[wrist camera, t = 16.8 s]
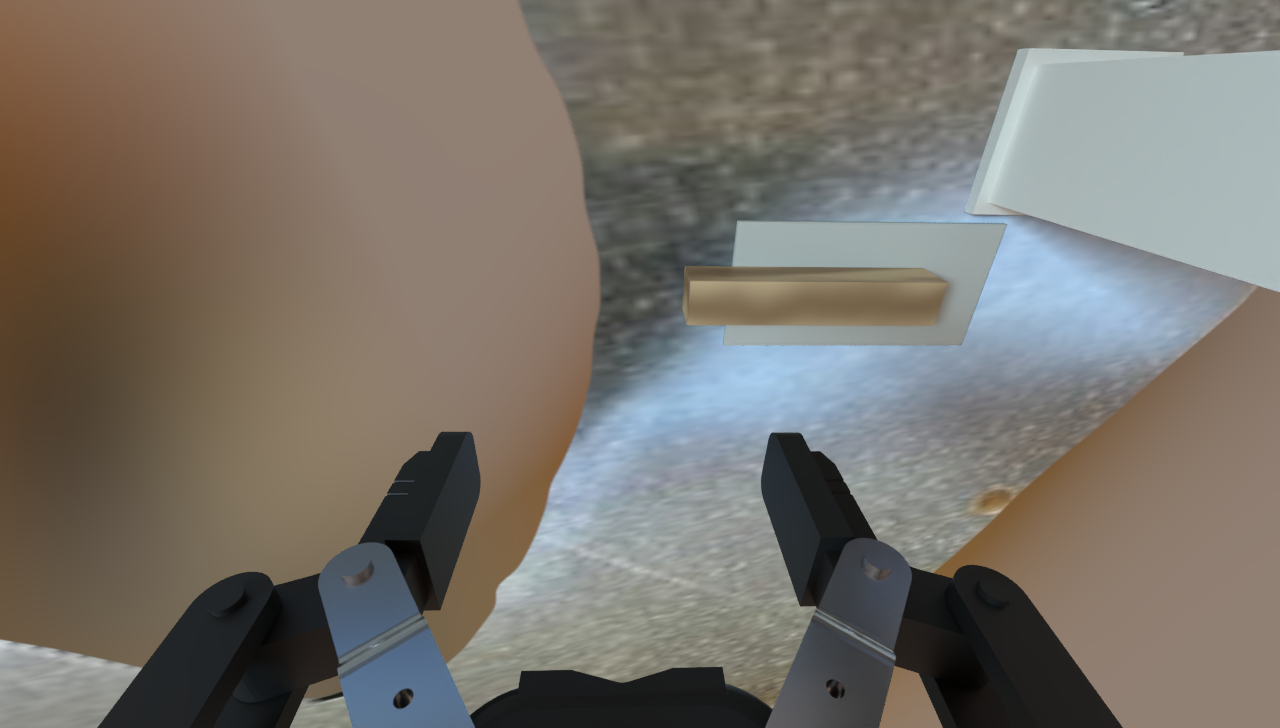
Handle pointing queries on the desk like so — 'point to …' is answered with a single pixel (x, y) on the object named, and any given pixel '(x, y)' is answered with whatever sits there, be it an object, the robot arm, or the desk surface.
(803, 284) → the oak bar
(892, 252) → the rubber mat
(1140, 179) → the shelf post
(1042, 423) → the desk surface
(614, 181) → the desk surface
